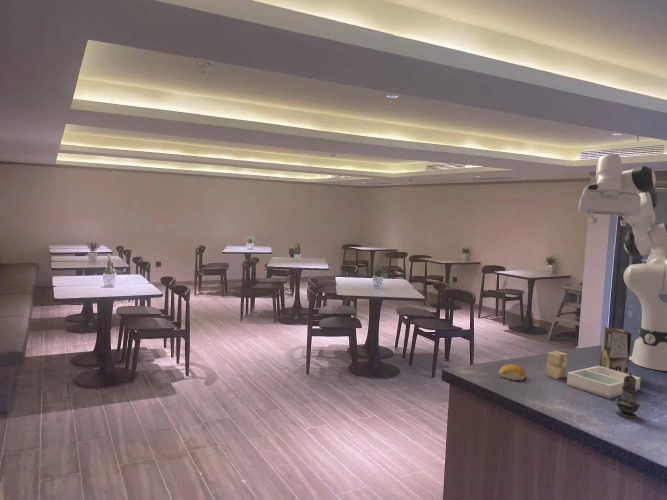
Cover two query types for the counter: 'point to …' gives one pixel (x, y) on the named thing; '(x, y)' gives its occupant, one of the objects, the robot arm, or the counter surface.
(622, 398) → the dark grey upright piece
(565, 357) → the maple block
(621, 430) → the counter surface
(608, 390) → the caddy
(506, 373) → the bread roll
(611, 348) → the coffee box
